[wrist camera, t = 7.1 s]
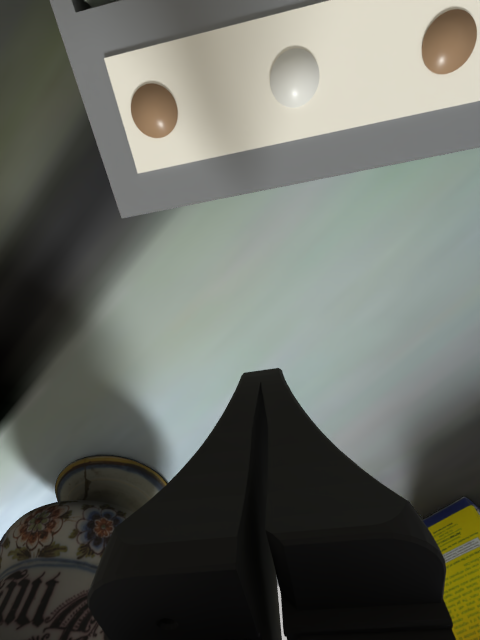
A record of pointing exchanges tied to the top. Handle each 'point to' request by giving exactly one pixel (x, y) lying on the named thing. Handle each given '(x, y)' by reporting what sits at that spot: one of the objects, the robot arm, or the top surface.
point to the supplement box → (460, 564)
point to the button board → (269, 90)
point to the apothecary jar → (67, 549)
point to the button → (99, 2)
